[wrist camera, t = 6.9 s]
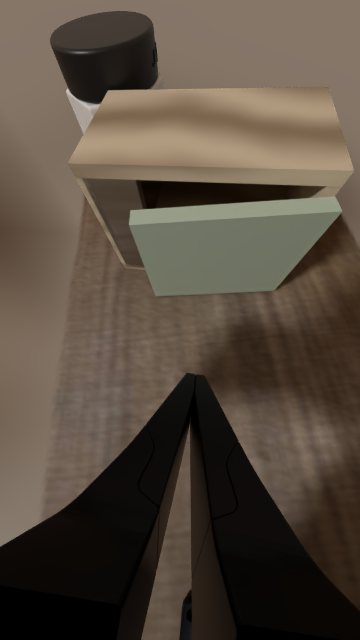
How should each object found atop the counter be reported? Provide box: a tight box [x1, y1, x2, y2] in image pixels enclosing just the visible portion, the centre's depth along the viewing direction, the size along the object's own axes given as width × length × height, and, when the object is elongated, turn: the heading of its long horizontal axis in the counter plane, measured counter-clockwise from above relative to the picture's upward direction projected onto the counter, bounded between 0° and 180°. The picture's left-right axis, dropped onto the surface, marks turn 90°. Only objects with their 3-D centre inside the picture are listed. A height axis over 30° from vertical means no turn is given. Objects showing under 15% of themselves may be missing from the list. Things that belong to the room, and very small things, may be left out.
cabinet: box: [68, 87, 354, 270], centre depth 16 cm, size 9×16×10 cm, turn 82°
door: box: [129, 196, 342, 296], centre depth 15 cm, size 1×12×9 cm, turn 91°
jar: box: [50, 11, 164, 134], centre depth 20 cm, size 9×8×12 cm
